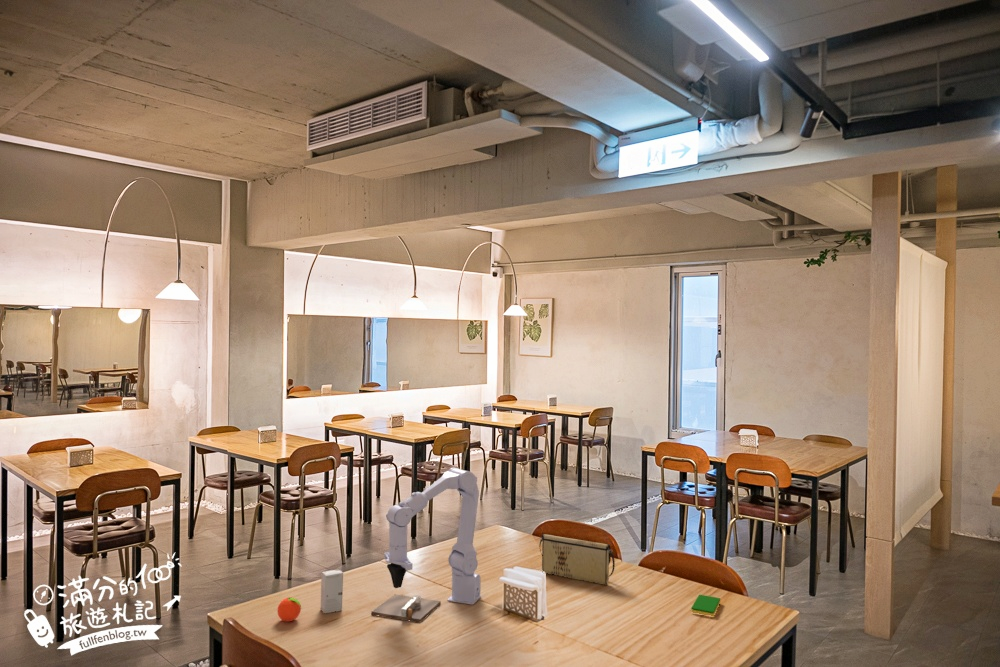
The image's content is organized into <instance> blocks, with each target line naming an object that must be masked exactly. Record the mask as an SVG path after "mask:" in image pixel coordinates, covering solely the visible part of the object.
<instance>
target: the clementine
mask: <svg viewBox="0 0 1000 667" xmlns="http://www.w3.org/2000/svg"><path fill="white" fill-rule="evenodd" d="M301 609H303V608H302V605H301V603H300V601H299V600H298V599H296V598H295V597H290V596H289V597H286V598H284V599H282V600H281V601H280V602H279V604H278V606H277V615H278V618H280V621H283V622H292V621H294V620H296V619H297V618H298V617H299V615H300V613H301Z"/></svg>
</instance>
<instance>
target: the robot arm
mask: <svg viewBox="0 0 1000 667" xmlns="http://www.w3.org/2000/svg"><path fill="white" fill-rule="evenodd" d="M477 483H478V477H477V476H476V475H475V474H474V473H473V472H471V471H470V470H465V469H461V468H458V467H455V466H454V467H451V468H449V469H448V470H447V471H444V473H443V474H442V475H441V476H440V477H439V478H438V479H437V480H435V481H434V482H433V483H432V484H431V485H430V486H428V487H427V488H425V489H424V490H423V491H422V492H420V491H416V492H412V493H410V496H409V497H408V498H406V499H404V500H402V501H400V502H399V503H398V504H396V505H395V504H394V505H391V507H390V508H389V509H388V510H387V514H386V515H385V519H386V520H387V522H388V523H389V524H388V526H389V529H388V537H389V538H388V551H387V552H384V553H383V559H384V560H385V562H386V563H387V565H386V568H387V570H388V571H389V573H390V578H391V581H392V587H393V588H394V589H399V588H402V584H403V581H404V578H405V575H406V574H407V571H411V570H413V562H411V561H410V559H409V558H408V525H409V524H410V523H411V520H412V519H413V517H414V516H416V515H417V514H418V513H420V512H421V511H423V510H424V509H425V508H426V507H427V506H428V503H429V501H431V500H432V499H434V498H435V497H437V496H438V495H439V494H441V493H443V492H444V491H446V490H457V492H459V494H460V495H461V496H462V499H461V508H460V514H459V521H458V522H459V524H458V530H457V531H458V532H457V536H456V537H457V540H456V542H455V543H454V544H453V545H452V546H451V552H450V553H449V556H448V560H447V562H448V564H449V566H450V567H451V572H452V573H451V595H450V596H449V597H448V598H447V601H448V602H452V601H453V602H455V603H460V604H467V605H474V604H475V603H476V602H477V601H478V600H480V598H482V595H481V588H482V587H481V586H482V585H481V582H482V579H481V575H480V574H478V573H476V571H477V568H478V564H479V561H478V559H477V555H478V554H477V553H478V552H477V550H476V548H475V546H474V538H475V536H474V535H475V528H476V522H477V520H476V519H477V513H478V504H479V496H480V491H479V487H478V484H477ZM453 602H452V603H453Z"/></svg>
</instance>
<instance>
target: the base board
mask: <svg viewBox="0 0 1000 667" xmlns="http://www.w3.org/2000/svg"><path fill="white" fill-rule="evenodd" d="M410 597H411V596H408V595H401V594H394V595H392V596H391V597H389V598H388V599H386V600H385V601H384V602H382V603H381V604H380V605H378V606H377V607H376V608H374V609H373V610H372V611H371V612H370V615H371V616H376V615H379V616H378V617H382V616H383V617H384V618H388V617H391V618H390V619H394V618H398V619H397V620H400V619H403V620H402V621H407V620H410V621H409V622H413V621H416V622H415V623H419V622H420V623H422V621H424V620H425V617H426V616H427V615H428V614H429V615H430V614H431V613H433V612H434V611H435V610H436V609H437V608H438V607H439V606H440V605H441V600H435V599H429V598H423V597H421V605H420V606H419V607H415V608H414V609H413V610H412V609H408V610H407V616H406V617H401V609H402V608H403V607H404V606H405V605H406V604H407V603H408V602H409V601H410ZM437 606H438V607H437ZM436 607H437V608H436ZM435 608H436V609H435ZM434 609H435V610H434ZM429 615H428V616H429ZM428 616H427V617H428ZM383 617H382V618H383ZM427 617H426V618H427Z"/></svg>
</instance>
